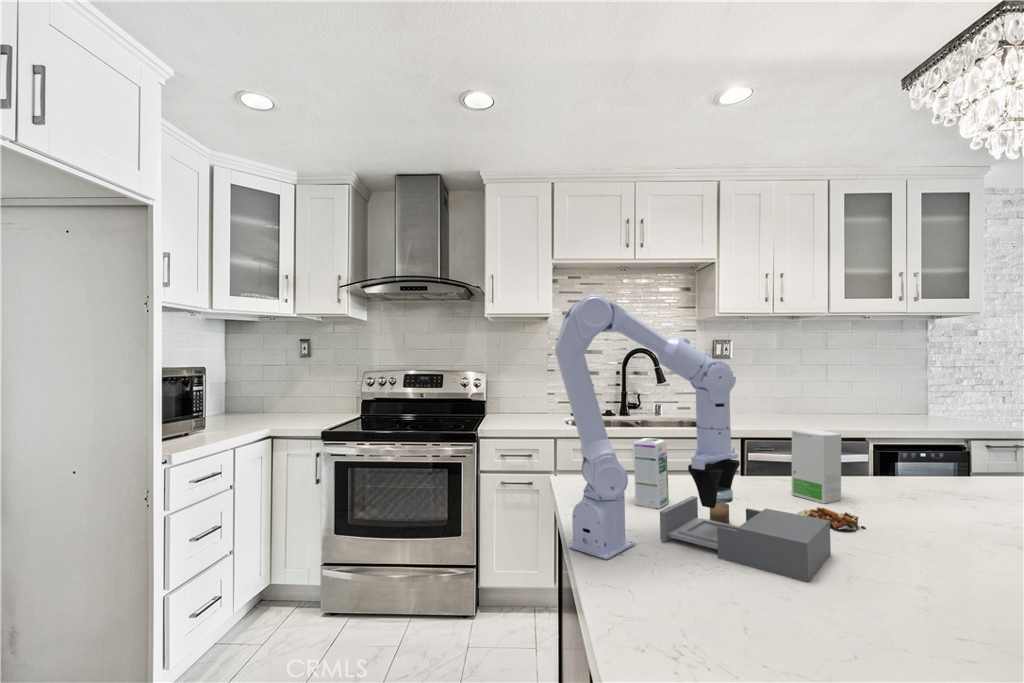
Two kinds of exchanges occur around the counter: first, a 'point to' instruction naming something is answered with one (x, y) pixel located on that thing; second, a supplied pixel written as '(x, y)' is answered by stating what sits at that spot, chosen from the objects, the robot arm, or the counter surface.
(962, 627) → the counter surface
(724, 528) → the housing
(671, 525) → the tray
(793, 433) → the skincare box
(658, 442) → the syrup box
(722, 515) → the stand
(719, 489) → the disc
